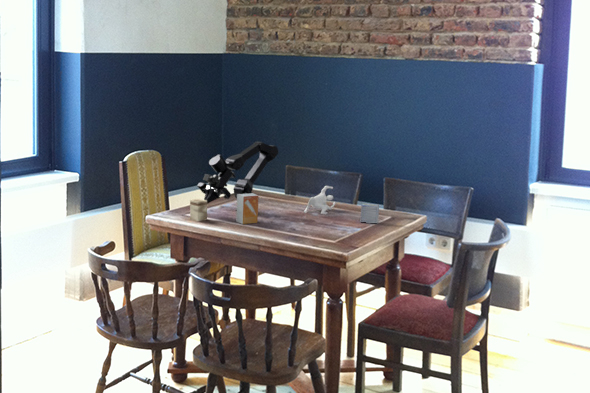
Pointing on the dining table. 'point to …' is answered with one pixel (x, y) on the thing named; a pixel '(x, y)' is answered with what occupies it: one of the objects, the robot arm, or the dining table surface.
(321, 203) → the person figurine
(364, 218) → the medicine box
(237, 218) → the small box
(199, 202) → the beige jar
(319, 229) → the dining table surface
